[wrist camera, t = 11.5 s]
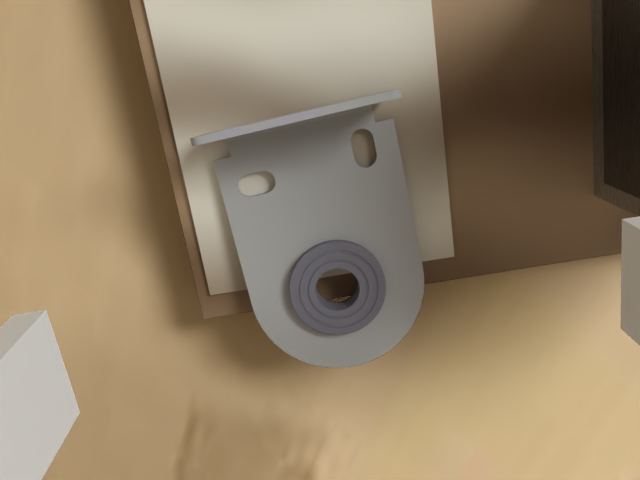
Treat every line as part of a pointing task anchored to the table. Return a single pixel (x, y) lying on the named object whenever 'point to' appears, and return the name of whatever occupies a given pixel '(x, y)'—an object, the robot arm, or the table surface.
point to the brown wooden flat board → (409, 118)
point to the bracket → (324, 231)
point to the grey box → (616, 102)
